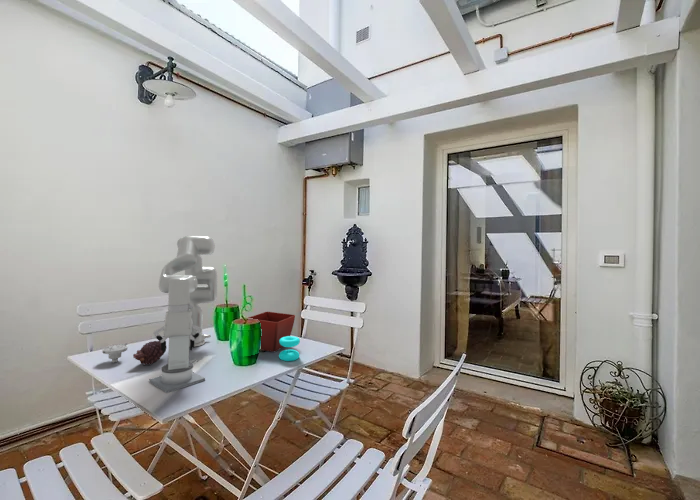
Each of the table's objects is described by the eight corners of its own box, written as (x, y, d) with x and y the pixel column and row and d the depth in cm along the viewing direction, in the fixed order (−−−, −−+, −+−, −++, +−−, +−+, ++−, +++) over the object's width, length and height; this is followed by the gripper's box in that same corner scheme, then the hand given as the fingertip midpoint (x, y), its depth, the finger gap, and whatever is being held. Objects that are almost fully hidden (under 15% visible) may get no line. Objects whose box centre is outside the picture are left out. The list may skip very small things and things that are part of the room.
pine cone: (157, 355, 163) (157, 335, 163) (175, 357, 161) (175, 336, 161) (126, 368, 146) (127, 346, 145) (146, 371, 144) (147, 348, 144)
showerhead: (133, 344, 156) (109, 350, 147) (132, 360, 156) (109, 366, 147) (121, 341, 160) (98, 346, 152) (121, 356, 160) (97, 362, 152)
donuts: (275, 337, 164) (291, 334, 172) (274, 358, 165) (290, 353, 172) (287, 342, 158) (304, 338, 165) (287, 363, 158) (303, 358, 165)
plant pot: (276, 355, 169) (277, 322, 168) (244, 350, 175) (245, 318, 175) (295, 344, 187) (296, 314, 186) (266, 340, 193) (266, 311, 193)
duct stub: (186, 370, 145) (186, 357, 145) (205, 380, 136) (205, 365, 136) (149, 381, 133) (149, 366, 133) (166, 392, 124) (166, 376, 124)
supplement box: (188, 367, 133) (189, 336, 133) (167, 370, 130) (168, 338, 130) (188, 361, 140) (189, 331, 140) (168, 364, 137) (169, 333, 136)
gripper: (202, 305, 141) (201, 346, 141) (155, 307, 134) (154, 349, 135) (202, 309, 134) (201, 351, 134) (152, 311, 127) (151, 355, 128)
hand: (178, 350), depth 135 cm, fingers open, 9 cm apart
